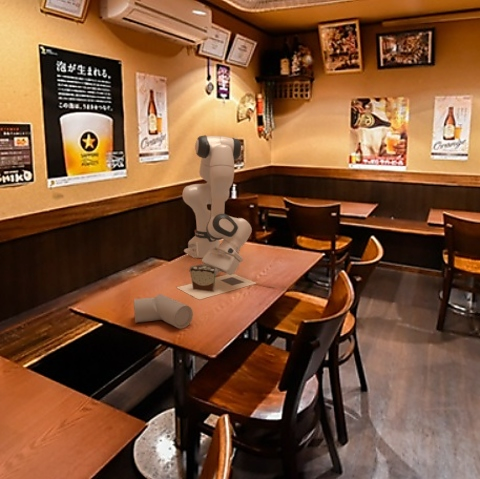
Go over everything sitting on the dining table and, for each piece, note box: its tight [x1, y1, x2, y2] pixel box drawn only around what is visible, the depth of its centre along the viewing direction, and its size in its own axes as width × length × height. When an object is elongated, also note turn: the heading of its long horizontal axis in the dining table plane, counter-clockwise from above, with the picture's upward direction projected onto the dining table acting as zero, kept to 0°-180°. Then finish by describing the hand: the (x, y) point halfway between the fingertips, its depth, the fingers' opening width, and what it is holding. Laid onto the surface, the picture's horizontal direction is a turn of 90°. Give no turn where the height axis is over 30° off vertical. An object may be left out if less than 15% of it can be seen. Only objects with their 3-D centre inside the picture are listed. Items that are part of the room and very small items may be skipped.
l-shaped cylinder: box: [133, 293, 194, 329], centre depth 164 cm, size 18×11×20 cm
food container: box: [188, 263, 218, 292], centre depth 197 cm, size 12×6×10 cm, turn 72°
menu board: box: [176, 273, 257, 301], centre depth 202 cm, size 18×31×1 cm, turn 129°
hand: (209, 277), depth 198 cm, fingers closed
